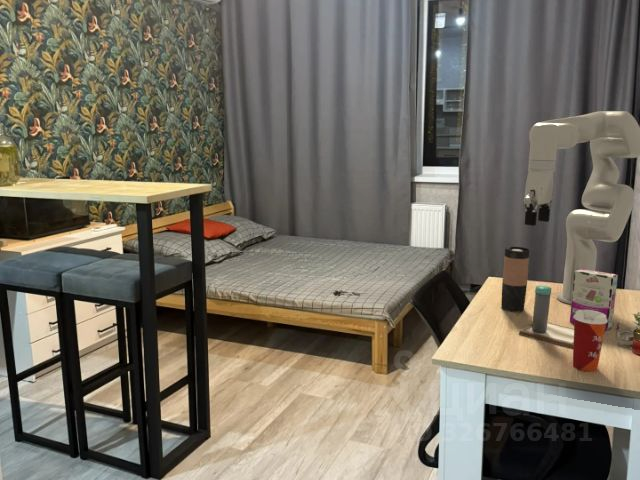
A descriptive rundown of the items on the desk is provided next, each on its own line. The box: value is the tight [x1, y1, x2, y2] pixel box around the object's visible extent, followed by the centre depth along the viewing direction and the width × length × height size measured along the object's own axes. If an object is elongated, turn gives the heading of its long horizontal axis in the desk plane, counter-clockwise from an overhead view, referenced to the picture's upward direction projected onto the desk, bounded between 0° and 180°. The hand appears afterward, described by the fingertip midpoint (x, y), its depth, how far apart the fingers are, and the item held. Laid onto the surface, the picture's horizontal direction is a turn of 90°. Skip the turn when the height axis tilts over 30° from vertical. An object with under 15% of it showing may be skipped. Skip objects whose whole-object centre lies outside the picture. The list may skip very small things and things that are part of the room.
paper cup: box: [572, 310, 608, 373], centre depth 144 cm, size 8×8×14 cm
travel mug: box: [500, 246, 531, 313], centre depth 189 cm, size 8×8×20 cm
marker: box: [531, 285, 552, 333], centre depth 165 cm, size 4×4×13 cm
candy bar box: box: [569, 269, 619, 331], centre depth 174 cm, size 11×5×16 cm, turn 47°
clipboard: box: [518, 322, 574, 349], centre depth 166 cm, size 13×16×2 cm
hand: (536, 223), depth 175 cm, fingers open, 9 cm apart
